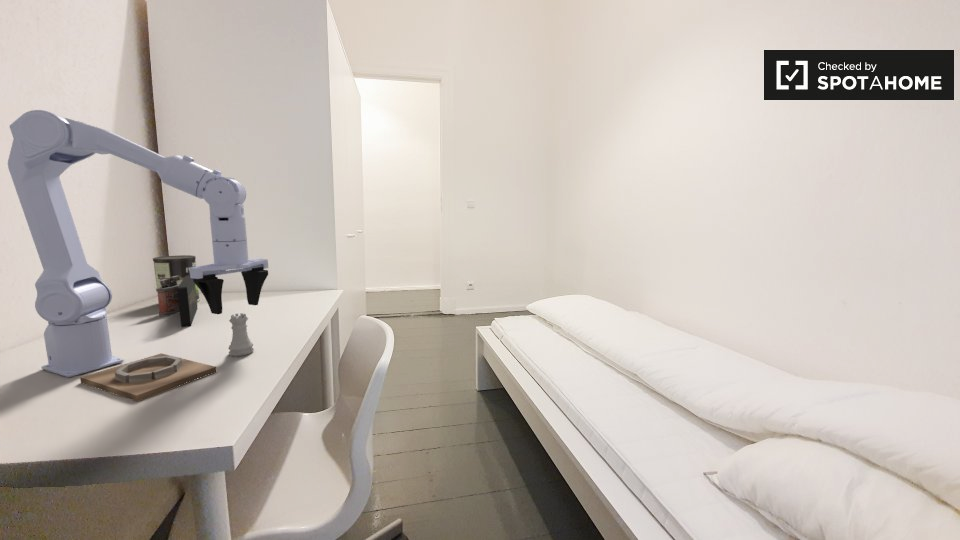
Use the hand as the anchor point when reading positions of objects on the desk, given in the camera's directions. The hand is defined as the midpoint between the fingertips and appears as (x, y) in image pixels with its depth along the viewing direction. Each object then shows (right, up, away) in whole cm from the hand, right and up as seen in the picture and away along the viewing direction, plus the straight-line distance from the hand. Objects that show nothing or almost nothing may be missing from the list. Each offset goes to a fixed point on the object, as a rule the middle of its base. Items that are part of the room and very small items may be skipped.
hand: (235, 308), depth 78 cm
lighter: (-37, -4, +32) cm, 49 cm away
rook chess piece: (0, -9, +2) cm, 10 cm away
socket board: (-8, -11, -10) cm, 17 cm away
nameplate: (-29, -5, +27) cm, 40 cm away
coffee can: (-44, -2, +43) cm, 62 cm away
